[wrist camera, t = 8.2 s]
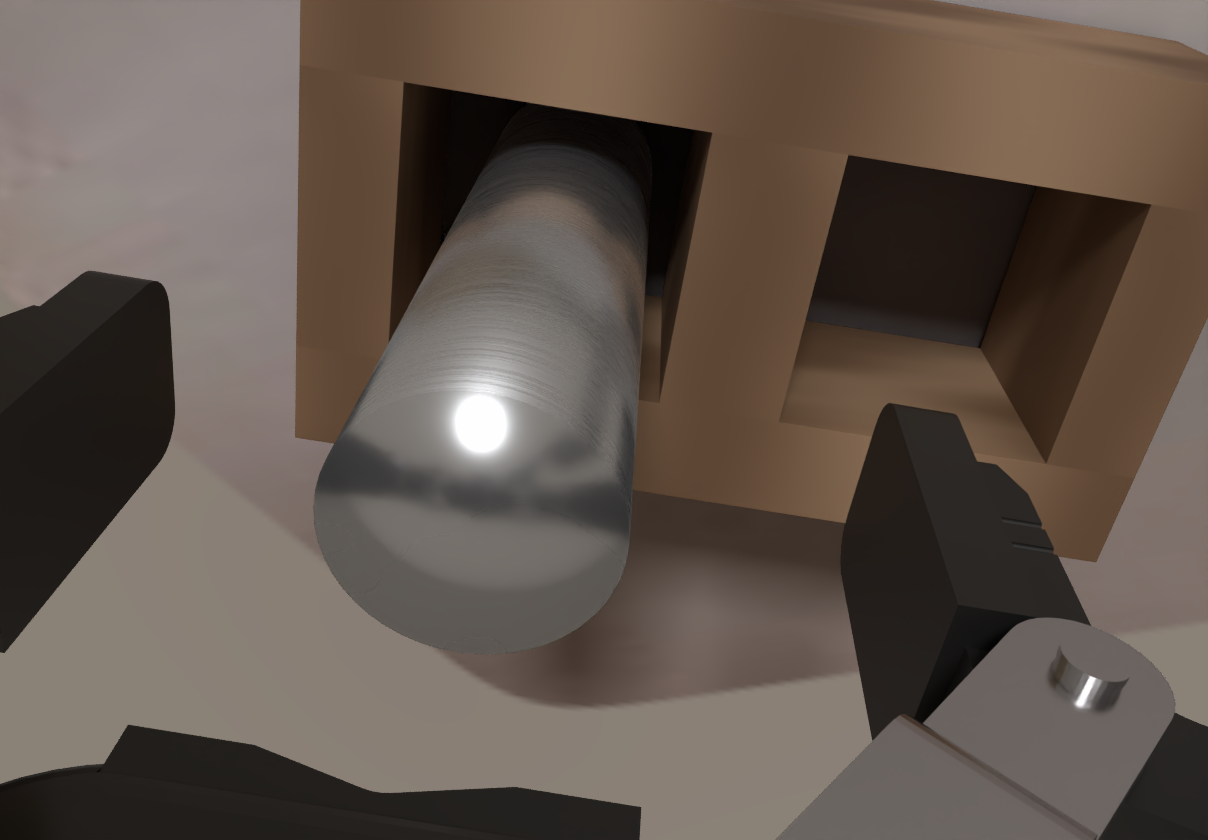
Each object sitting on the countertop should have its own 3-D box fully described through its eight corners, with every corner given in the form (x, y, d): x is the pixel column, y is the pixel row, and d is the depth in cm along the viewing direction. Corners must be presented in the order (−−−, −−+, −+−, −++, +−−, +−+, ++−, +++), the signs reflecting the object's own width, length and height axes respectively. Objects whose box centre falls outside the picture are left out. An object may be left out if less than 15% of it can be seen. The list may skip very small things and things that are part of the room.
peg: (665, 104, 20) (653, 420, 10) (638, 256, 22) (604, 674, 11) (503, 77, 20) (317, 366, 10) (487, 232, 22) (310, 630, 11)
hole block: (1177, 40, 19) (1305, 100, 15) (1024, 433, 23) (1096, 562, 19) (379, -93, 19) (301, -67, 15) (360, 328, 23) (294, 436, 19)
